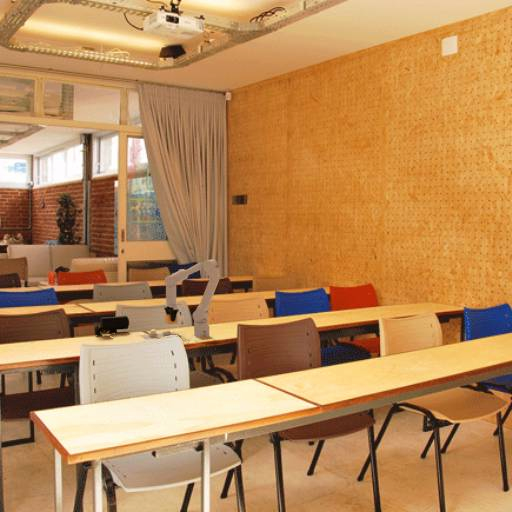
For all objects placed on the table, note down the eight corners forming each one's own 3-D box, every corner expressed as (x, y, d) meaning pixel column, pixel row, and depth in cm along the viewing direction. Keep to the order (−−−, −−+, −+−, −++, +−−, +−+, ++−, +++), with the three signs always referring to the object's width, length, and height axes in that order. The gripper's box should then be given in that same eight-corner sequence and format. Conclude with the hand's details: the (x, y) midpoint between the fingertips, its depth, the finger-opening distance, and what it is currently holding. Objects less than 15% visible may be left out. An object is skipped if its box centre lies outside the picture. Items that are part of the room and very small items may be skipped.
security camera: (94, 334, 362) (94, 317, 361) (127, 332, 369) (126, 315, 369) (97, 337, 355) (97, 319, 355) (130, 334, 363) (129, 317, 362)
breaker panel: (180, 338, 354) (180, 333, 354) (146, 341, 345) (146, 336, 345) (173, 334, 365) (173, 329, 364) (139, 337, 355) (139, 332, 355)
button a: (169, 334, 356) (169, 331, 356) (165, 334, 355) (165, 331, 355) (168, 333, 358) (168, 330, 358) (164, 334, 357) (164, 330, 357)
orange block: (177, 323, 361) (177, 315, 360) (168, 324, 358) (168, 316, 358) (174, 321, 365) (174, 314, 365) (165, 322, 363) (165, 314, 363)
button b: (156, 333, 352) (156, 330, 352) (151, 334, 351) (151, 330, 351) (154, 333, 354) (154, 329, 354) (150, 333, 353) (150, 329, 353)
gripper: (160, 295, 365) (160, 318, 366) (168, 298, 352) (168, 323, 353) (171, 294, 368) (172, 318, 369) (180, 298, 356) (180, 322, 357)
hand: (171, 320), depth 362 cm, fingers closed on orange block, 5 cm apart
